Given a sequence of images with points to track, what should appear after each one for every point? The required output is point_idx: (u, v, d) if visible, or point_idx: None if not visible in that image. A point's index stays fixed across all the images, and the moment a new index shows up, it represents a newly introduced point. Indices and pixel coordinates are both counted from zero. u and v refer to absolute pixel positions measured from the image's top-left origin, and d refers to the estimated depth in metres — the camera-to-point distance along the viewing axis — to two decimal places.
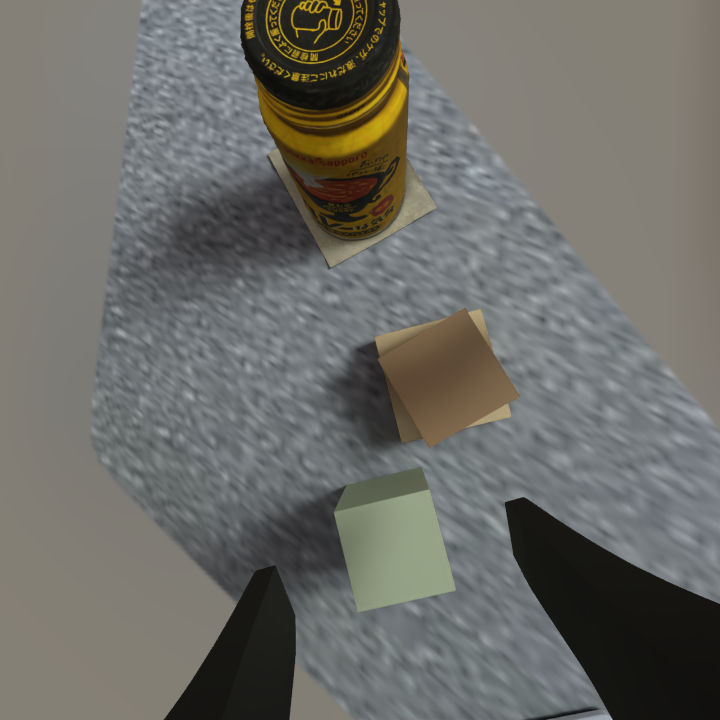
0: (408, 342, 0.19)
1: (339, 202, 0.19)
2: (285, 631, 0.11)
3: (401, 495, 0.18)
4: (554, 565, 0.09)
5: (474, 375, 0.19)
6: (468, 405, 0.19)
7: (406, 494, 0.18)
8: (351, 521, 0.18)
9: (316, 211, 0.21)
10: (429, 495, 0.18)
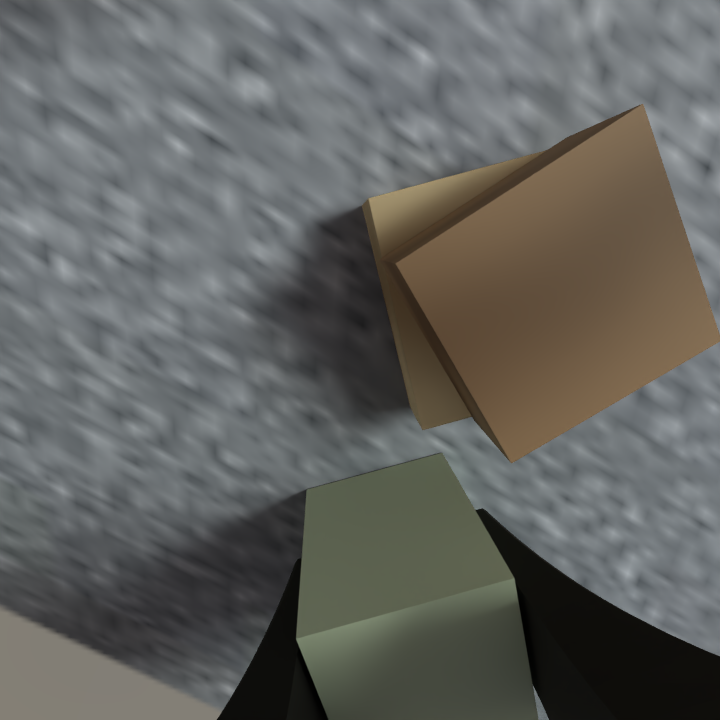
0: (481, 213, 0.07)
1: None
2: None
3: (450, 591, 0.08)
4: None
5: (633, 297, 0.08)
6: (606, 368, 0.08)
7: (461, 589, 0.08)
8: (337, 650, 0.08)
9: None
10: (513, 589, 0.08)
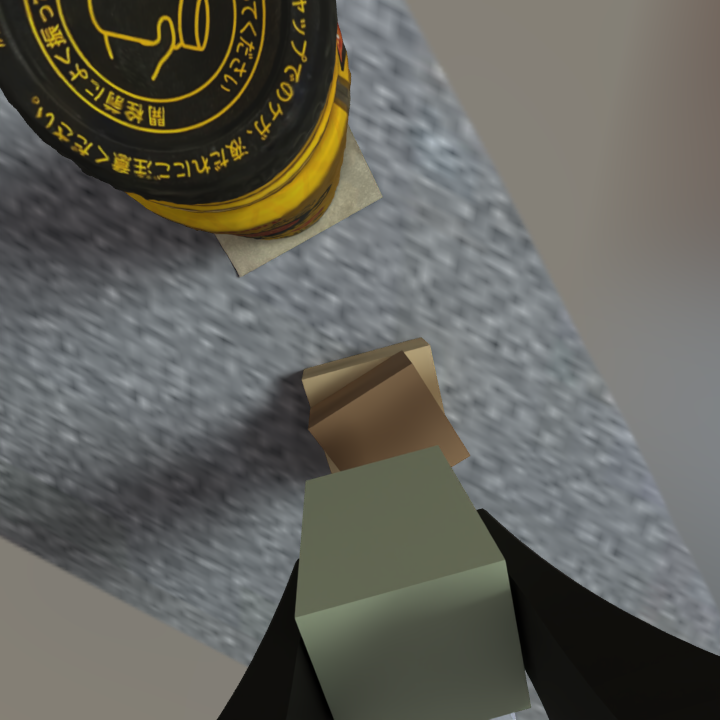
0: (344, 408, 0.16)
1: (244, 236, 0.13)
2: None
3: (443, 572, 0.08)
4: None
5: (421, 438, 0.17)
6: None
7: (454, 570, 0.08)
8: (334, 629, 0.08)
9: None
10: (504, 571, 0.08)
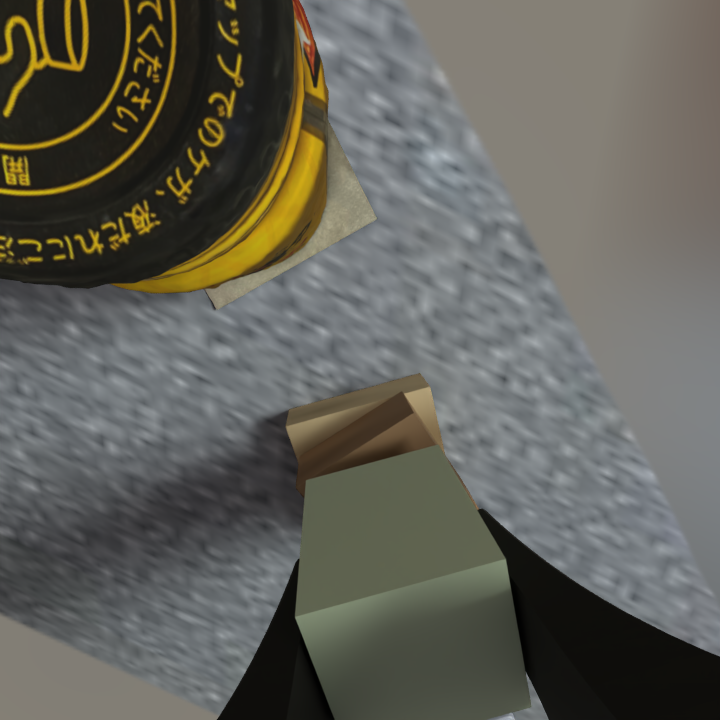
0: (337, 464, 0.14)
1: None
2: None
3: (443, 571, 0.08)
4: None
5: None
6: None
7: (455, 569, 0.08)
8: (335, 628, 0.08)
9: None
10: (504, 570, 0.08)
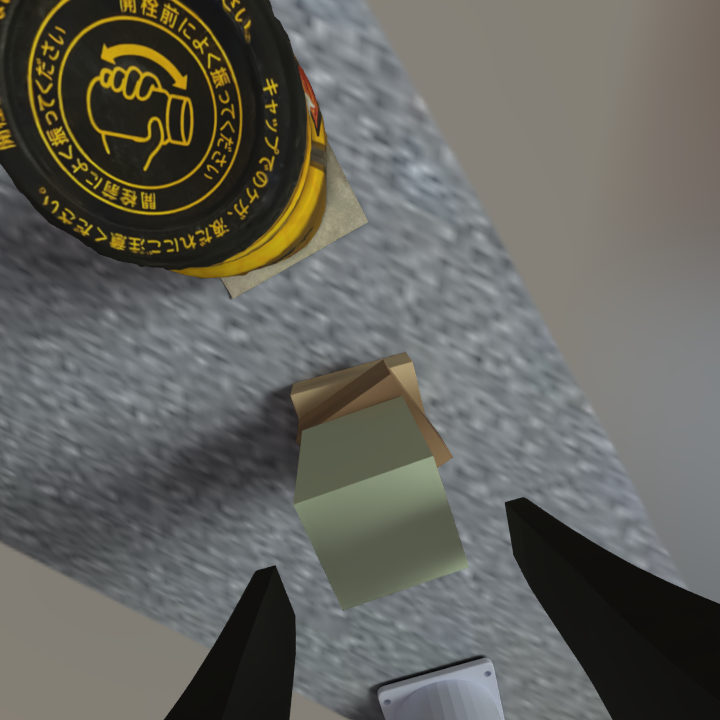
0: (329, 420, 0.17)
1: None
2: (285, 631, 0.11)
3: (392, 468, 0.12)
4: (554, 565, 0.09)
5: None
6: None
7: (399, 465, 0.12)
8: (321, 512, 0.12)
9: None
10: (433, 463, 0.12)
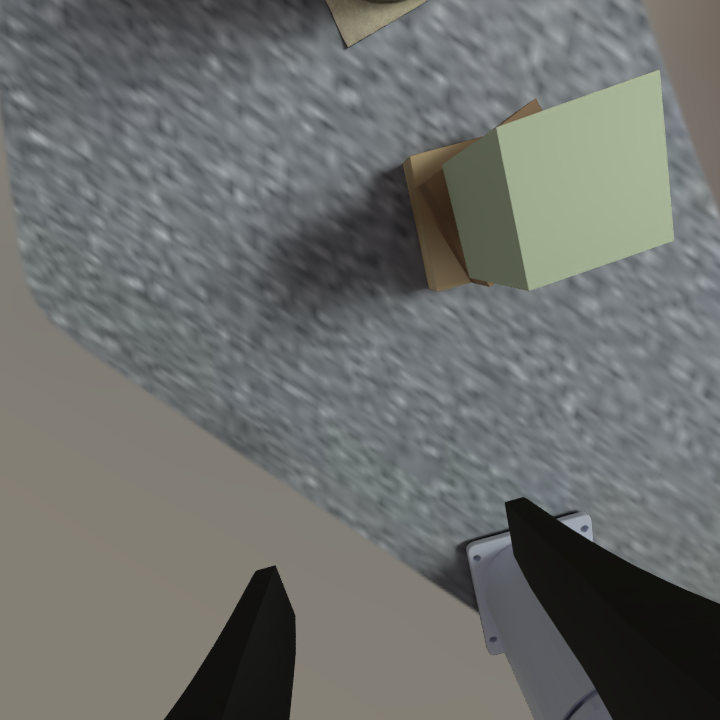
0: None
1: None
2: (285, 631, 0.11)
3: (609, 88, 0.10)
4: (554, 565, 0.09)
5: None
6: None
7: None
8: (525, 142, 0.10)
9: None
10: (658, 81, 0.10)
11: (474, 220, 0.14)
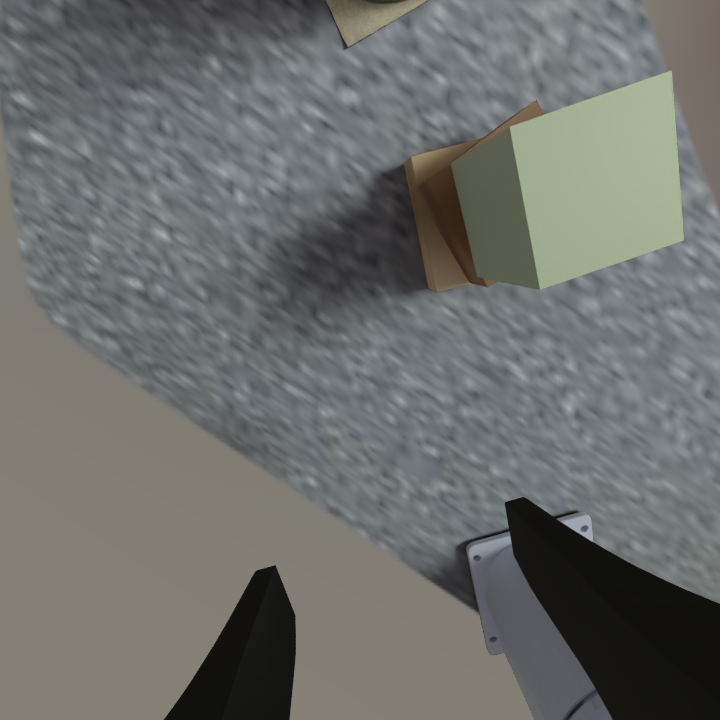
0: (465, 154, 0.15)
1: None
2: (285, 631, 0.11)
3: (621, 88, 0.10)
4: (554, 565, 0.09)
5: None
6: None
7: (631, 84, 0.10)
8: (538, 142, 0.11)
9: None
10: (670, 82, 0.10)
11: (483, 220, 0.14)
